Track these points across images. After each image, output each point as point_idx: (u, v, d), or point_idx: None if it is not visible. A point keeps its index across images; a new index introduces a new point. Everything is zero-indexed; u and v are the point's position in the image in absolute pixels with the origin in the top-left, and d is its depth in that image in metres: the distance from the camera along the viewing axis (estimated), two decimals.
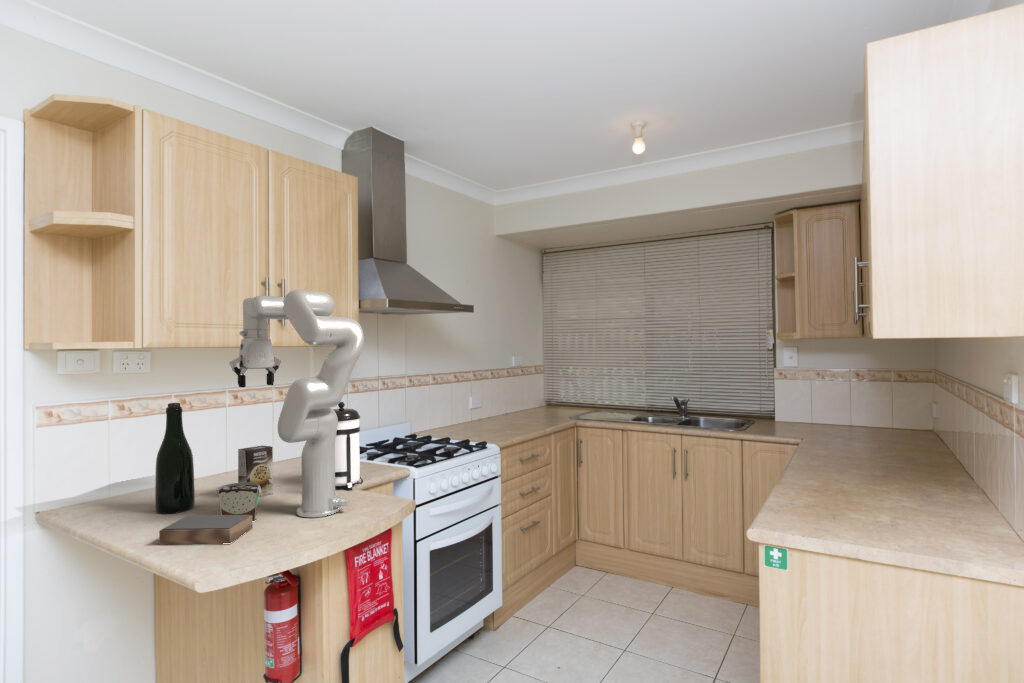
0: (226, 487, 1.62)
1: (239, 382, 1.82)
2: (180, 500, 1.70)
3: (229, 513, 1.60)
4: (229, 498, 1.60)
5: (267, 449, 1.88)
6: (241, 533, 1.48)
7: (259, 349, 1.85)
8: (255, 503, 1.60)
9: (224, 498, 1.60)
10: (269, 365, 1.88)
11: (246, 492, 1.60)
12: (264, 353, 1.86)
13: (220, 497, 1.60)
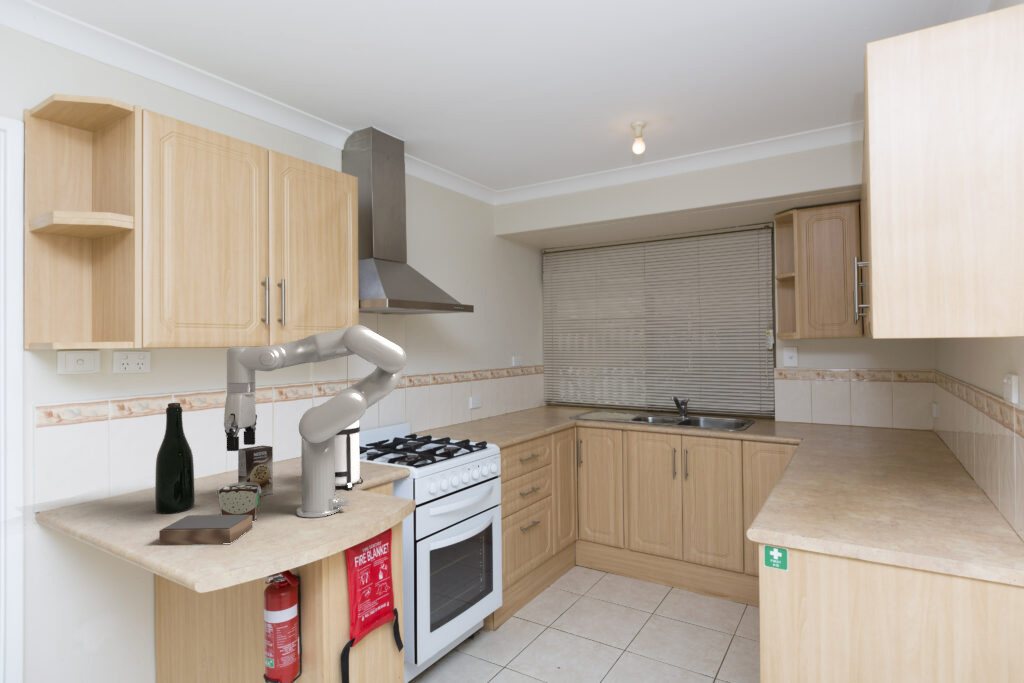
0: (226, 487, 1.62)
1: None
2: (180, 500, 1.70)
3: (229, 513, 1.60)
4: (229, 498, 1.60)
5: (267, 449, 1.88)
6: (241, 533, 1.48)
7: None
8: (255, 503, 1.60)
9: (224, 498, 1.60)
10: None
11: (246, 492, 1.60)
12: None
13: (220, 497, 1.60)
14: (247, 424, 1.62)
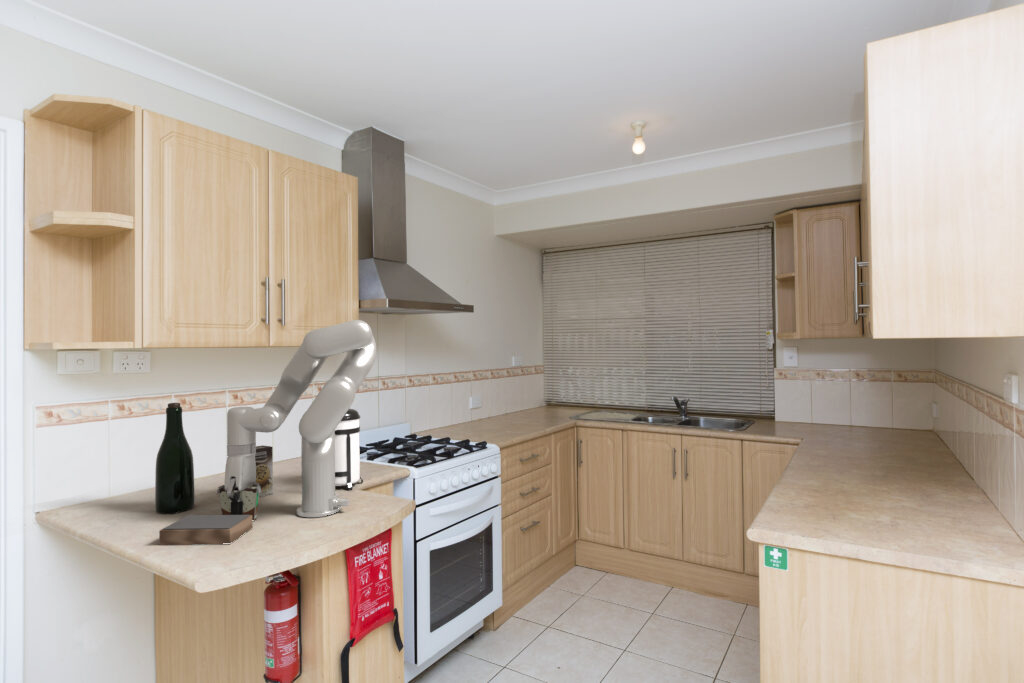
0: None
1: None
2: (180, 500, 1.70)
3: (229, 512, 1.60)
4: None
5: (267, 449, 1.88)
6: (241, 533, 1.48)
7: None
8: (255, 503, 1.60)
9: (224, 497, 1.60)
10: None
11: (245, 491, 1.60)
12: None
13: (220, 496, 1.60)
14: (247, 485, 1.62)
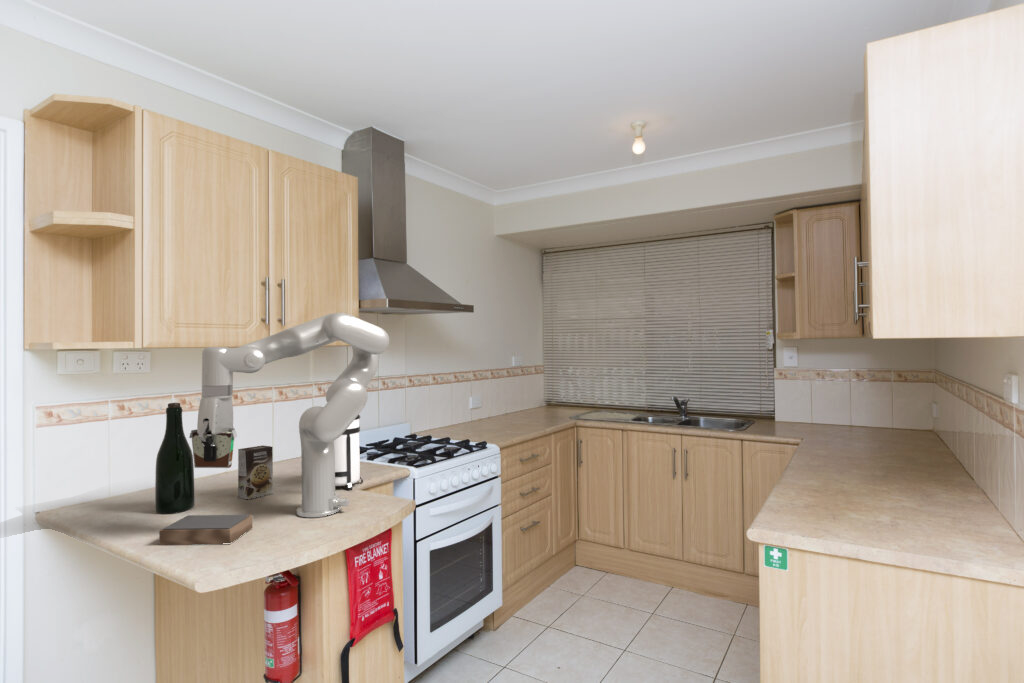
0: None
1: None
2: (180, 500, 1.70)
3: (202, 458, 1.50)
4: None
5: (267, 449, 1.88)
6: (241, 533, 1.48)
7: None
8: (229, 448, 1.50)
9: (197, 442, 1.50)
10: None
11: (219, 435, 1.50)
12: None
13: (193, 441, 1.50)
14: (223, 430, 1.52)
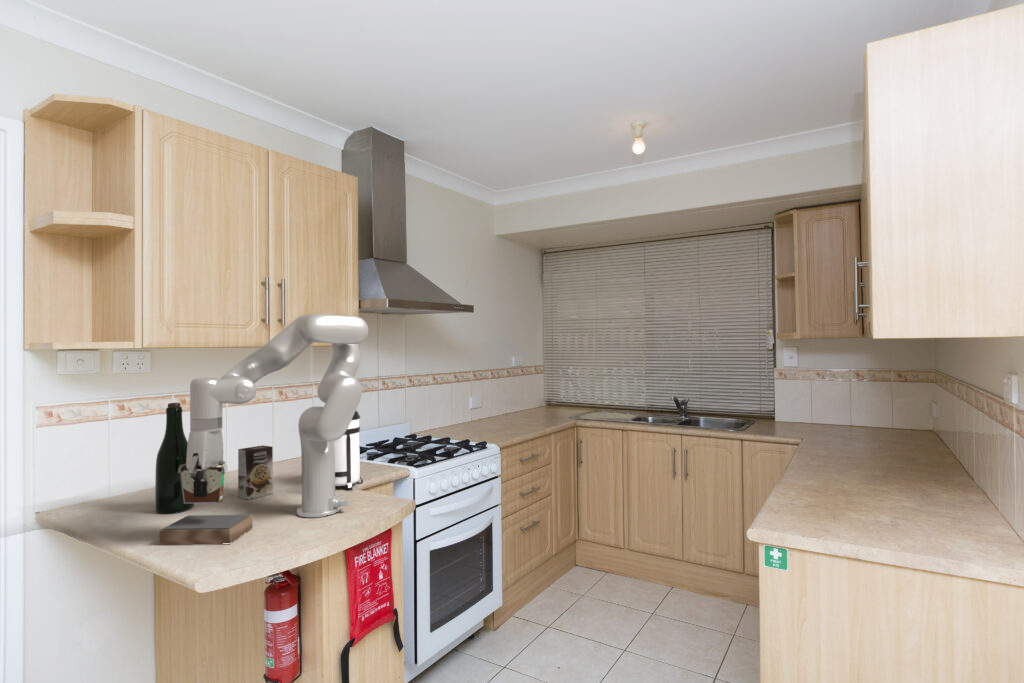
0: None
1: None
2: (180, 500, 1.70)
3: (192, 493, 1.45)
4: None
5: (267, 449, 1.88)
6: (241, 533, 1.48)
7: None
8: (220, 483, 1.45)
9: (186, 477, 1.45)
10: None
11: (210, 470, 1.45)
12: None
13: (182, 476, 1.45)
14: (213, 464, 1.47)
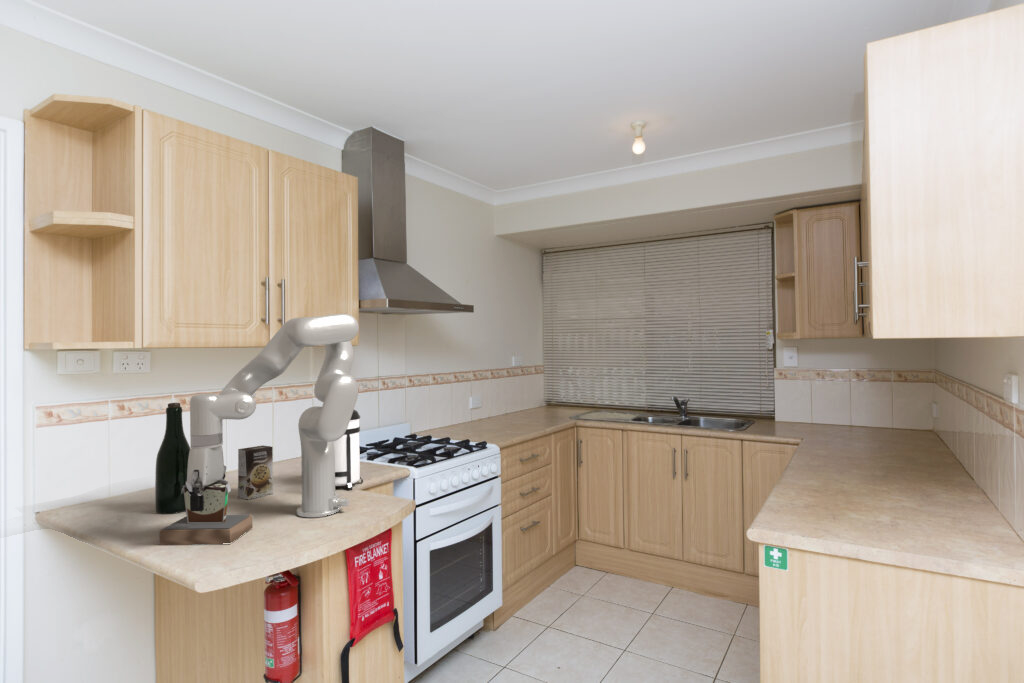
0: None
1: None
2: (180, 500, 1.70)
3: (195, 513, 1.46)
4: None
5: (267, 449, 1.88)
6: (241, 533, 1.48)
7: None
8: (223, 503, 1.46)
9: None
10: None
11: (213, 490, 1.46)
12: None
13: (186, 496, 1.46)
14: (213, 480, 1.47)
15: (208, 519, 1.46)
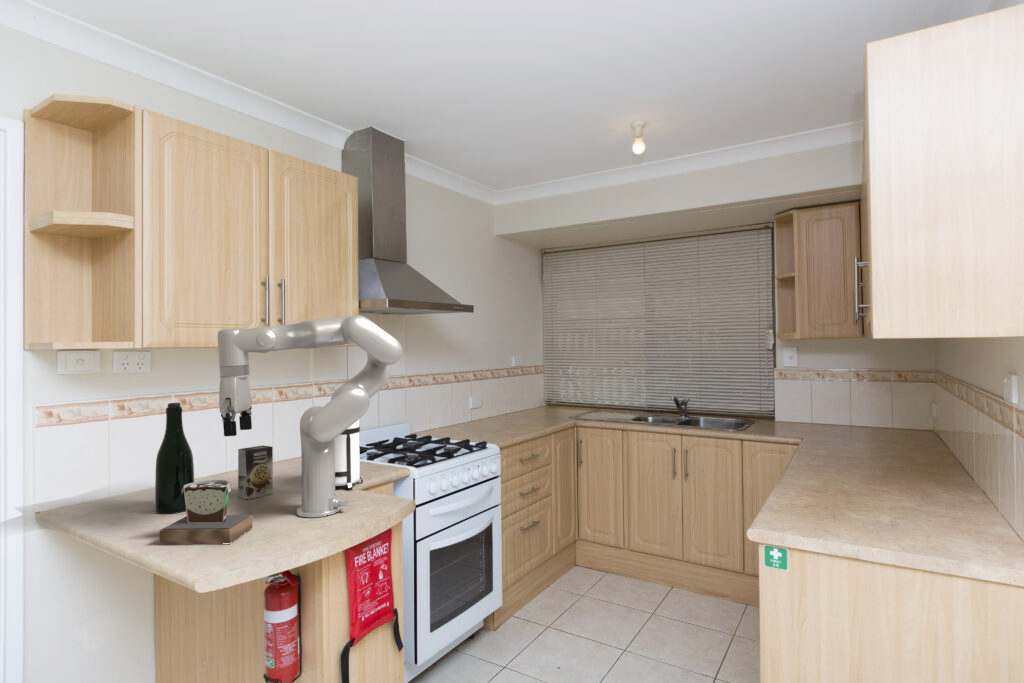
0: (193, 485, 1.49)
1: None
2: (180, 500, 1.70)
3: (195, 513, 1.46)
4: (196, 497, 1.47)
5: (267, 449, 1.88)
6: (241, 533, 1.48)
7: None
8: (223, 503, 1.47)
9: (190, 497, 1.47)
10: None
11: (213, 490, 1.47)
12: None
13: (186, 496, 1.46)
14: (243, 408, 1.57)
15: (208, 519, 1.46)
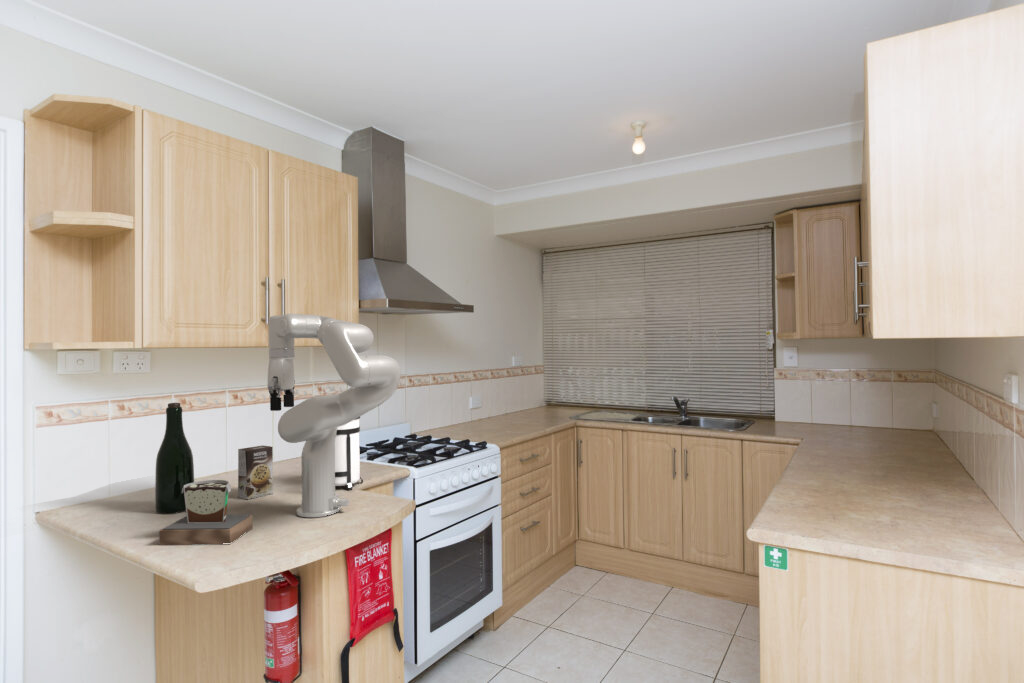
0: (193, 485, 1.49)
1: None
2: (180, 500, 1.70)
3: (195, 513, 1.46)
4: (196, 497, 1.47)
5: (267, 449, 1.88)
6: (241, 533, 1.48)
7: None
8: (223, 503, 1.47)
9: (190, 497, 1.47)
10: None
11: (213, 490, 1.47)
12: None
13: (186, 496, 1.46)
14: (288, 387, 1.76)
15: (208, 519, 1.46)
